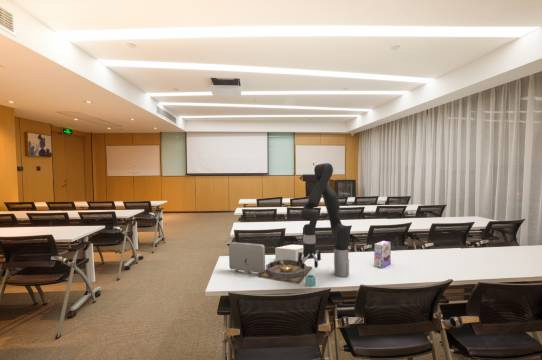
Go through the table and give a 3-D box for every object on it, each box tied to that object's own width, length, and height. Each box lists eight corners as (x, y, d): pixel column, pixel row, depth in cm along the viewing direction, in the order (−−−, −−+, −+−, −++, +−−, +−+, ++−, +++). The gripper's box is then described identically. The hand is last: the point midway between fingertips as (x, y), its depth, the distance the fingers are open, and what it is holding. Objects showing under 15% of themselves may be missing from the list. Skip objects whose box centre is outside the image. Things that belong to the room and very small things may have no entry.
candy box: (382, 268, 189) (381, 245, 188) (374, 266, 193) (373, 243, 193) (391, 263, 198) (390, 241, 197) (383, 262, 202) (383, 240, 202)
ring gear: (311, 266, 191) (311, 262, 191) (298, 281, 166) (298, 276, 166) (276, 262, 202) (276, 258, 202) (259, 274, 178) (259, 270, 178)
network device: (227, 272, 187) (227, 244, 186) (234, 268, 195) (233, 241, 194) (261, 277, 177) (261, 246, 177) (266, 272, 185) (266, 243, 185)
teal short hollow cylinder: (315, 283, 166) (315, 275, 166) (315, 287, 160) (315, 278, 160) (305, 282, 167) (305, 274, 167) (305, 286, 161) (305, 278, 161)
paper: (314, 261, 206) (314, 248, 206) (276, 264, 203) (276, 250, 203) (309, 256, 221) (309, 243, 220) (274, 258, 217) (274, 245, 217)
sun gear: (294, 269, 186) (294, 265, 186) (290, 273, 178) (290, 269, 178) (282, 267, 190) (282, 264, 190) (277, 271, 182) (277, 268, 182)
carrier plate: (312, 268, 191) (312, 261, 191) (299, 283, 166) (298, 274, 166) (276, 263, 203) (275, 256, 203) (258, 277, 178) (258, 268, 177)
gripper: (316, 239, 169) (316, 265, 170) (296, 241, 165) (296, 267, 165) (322, 242, 162) (322, 269, 162) (301, 244, 157) (301, 271, 158)
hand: (309, 268), depth 164 cm, fingers open, 8 cm apart
